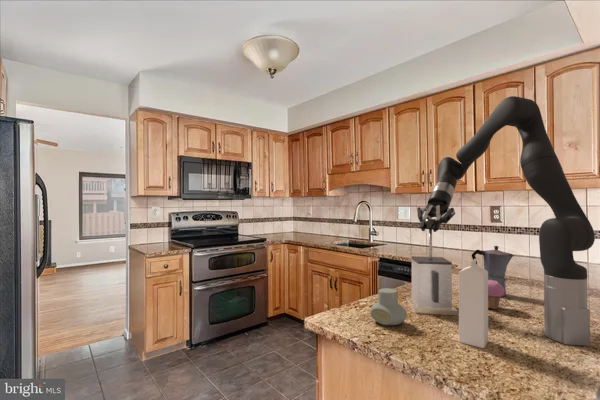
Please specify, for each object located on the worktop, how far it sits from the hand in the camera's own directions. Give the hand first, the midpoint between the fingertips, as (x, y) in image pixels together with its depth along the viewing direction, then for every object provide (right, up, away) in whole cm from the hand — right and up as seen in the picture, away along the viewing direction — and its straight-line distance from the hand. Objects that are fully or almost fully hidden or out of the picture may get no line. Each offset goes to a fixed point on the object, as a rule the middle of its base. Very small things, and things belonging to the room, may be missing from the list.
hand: (428, 229), depth 113 cm
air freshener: (-18, -28, -13) cm, 36 cm away
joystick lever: (+1, -21, +1) cm, 21 cm away
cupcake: (+22, -28, +1) cm, 36 cm away
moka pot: (+34, -29, +18) cm, 48 cm away
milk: (+1, -28, -27) cm, 39 cm away
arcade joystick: (+1, -28, +1) cm, 28 cm away
